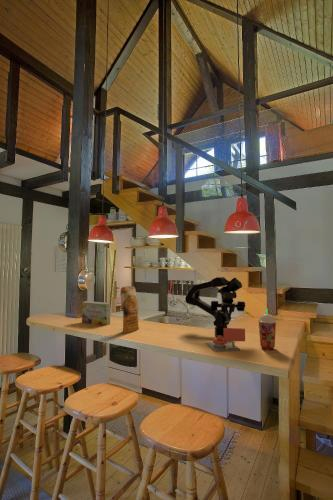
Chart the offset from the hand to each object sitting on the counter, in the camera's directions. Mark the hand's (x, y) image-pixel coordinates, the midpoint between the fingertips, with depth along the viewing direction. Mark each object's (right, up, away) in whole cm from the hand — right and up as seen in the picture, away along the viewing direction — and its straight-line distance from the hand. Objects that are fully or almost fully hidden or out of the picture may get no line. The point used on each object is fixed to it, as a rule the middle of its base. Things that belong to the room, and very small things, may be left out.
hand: (229, 318), depth 148 cm
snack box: (-84, -15, +47) cm, 97 cm away
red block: (-2, -10, -8) cm, 13 cm away
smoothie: (+17, -13, -10) cm, 23 cm away
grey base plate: (-5, -12, -7) cm, 15 cm away
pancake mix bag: (-57, -14, +26) cm, 64 cm away
